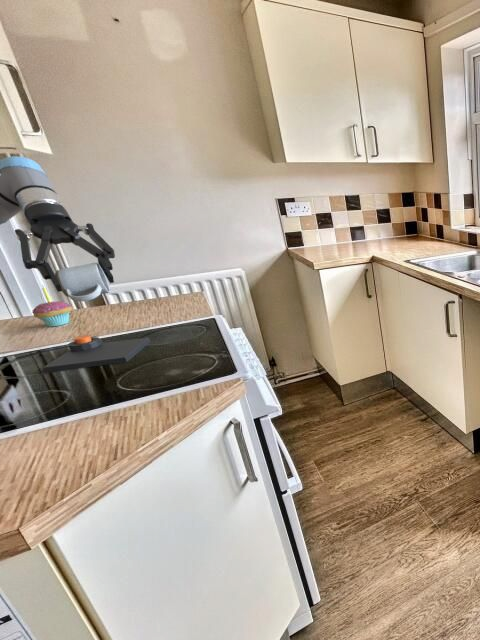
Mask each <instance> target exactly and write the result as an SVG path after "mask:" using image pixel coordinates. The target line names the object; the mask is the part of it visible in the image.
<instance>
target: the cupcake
mask: <svg viewBox="0 0 480 640" xmlns="http://www.w3.org/2000/svg"><path fill="white" fill-rule="evenodd" d="M41 289H42V291H43V293H44V296H45V299H46V300H47V302H44V303H39V304H38V305H37V306H35V307H34V308H33V310H32V312H31V313H32V314H33V317H34V318H37V319H39V320H41V321H42V322H43V323H44V324H45V325H46V326H47V327H52V328H53V327H60V326H64V325H67V324H69V323H70V312H72V311H73V310H74V308H73V306H72V305H71V304H70V303H68V302H65V301H58V300H57V301H52V300H51V297H50V296H49V293H48V292H47V288H46V287H45V286H44V285H42V288H41Z"/></svg>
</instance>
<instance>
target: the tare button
mask: <svg viewBox="0 0 480 640" xmlns="http://www.w3.org/2000/svg"><path fill="white" fill-rule="evenodd" d="M91 337H92V336H90V334H84V335H79V336H76V337H74V338H73V341H75V342H76V344H83V343H87V342H90V341H92V339H91Z"/></svg>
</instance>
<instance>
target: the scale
mask: <svg viewBox="0 0 480 640" xmlns="http://www.w3.org/2000/svg"><path fill="white" fill-rule="evenodd" d="M90 337H91V339H92V341H90V342H87V343H83V344H76V342H75V340H73V341H70V342H69V343H68V344H67V346H68V348H69V350H67V351H66V352H65V353H63V354H61V355H60V356H58V357H56V358H55V359H54V360H52V361H51V362H49V363H47V364H45V366H43V367H42V369H43V371H44V373H45V374H46V373H53V372H62V371H67V370H68V371H69V370H77V369H84V368H93V367H99V366H109V365H116V364H122V363H128V362H129V361H130V360H131V359H133V358H134V357H135V356H136V355H138V353H140V352H141V351H142V350H144V348H146V347H147V346H148V345H149V344H150V343H151V342H152V341H151V338H150V337H141V338H132V339H124V340H116V341H114V340H113V341H107V342H106V341H105V342H102V341H101V339H100V337H98V336H90Z"/></svg>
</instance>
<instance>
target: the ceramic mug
mask: <svg viewBox="0 0 480 640" xmlns="http://www.w3.org/2000/svg"><path fill="white" fill-rule="evenodd" d="M54 274H55V276H56V278H57V279H58V281H59V283H60V285H61V288H62V291H61V293H62V294H63V295H64V296H65V297H68V298H69V299H70V300H72V301H75V302H88V301H91V300H94V299H96V298H98V297H99V296H100V295H104V294H110V292H111V287H110V282H109V281H108V279H107V277H106V275H105V274H104V272H103V270H102V268H101V267H100V265H99V263H98V262H93V263H86V264H81V265H75V266H70V267H64V268H61V269H57V270H55V272H54Z"/></svg>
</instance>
